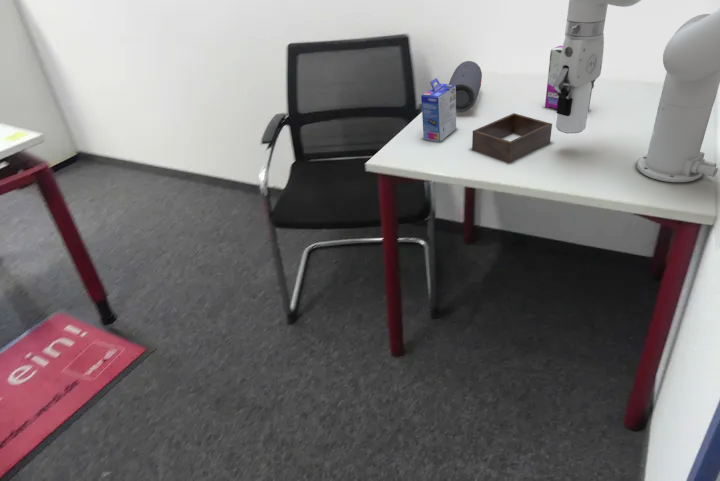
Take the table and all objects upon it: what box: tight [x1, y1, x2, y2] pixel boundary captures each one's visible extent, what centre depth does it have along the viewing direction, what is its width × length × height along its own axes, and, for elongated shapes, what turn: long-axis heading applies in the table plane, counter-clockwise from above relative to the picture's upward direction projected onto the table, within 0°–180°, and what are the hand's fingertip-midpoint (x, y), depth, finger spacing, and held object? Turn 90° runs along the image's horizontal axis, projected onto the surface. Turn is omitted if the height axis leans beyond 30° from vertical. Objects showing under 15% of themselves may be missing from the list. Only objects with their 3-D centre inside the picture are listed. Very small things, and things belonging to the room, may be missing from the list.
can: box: [555, 81, 592, 134], centre depth 122 cm, size 6×6×12 cm
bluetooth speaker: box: [448, 60, 483, 113], centre depth 159 cm, size 23×9×10 cm, turn 165°
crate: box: [471, 112, 553, 164], centre depth 132 cm, size 12×16×5 cm
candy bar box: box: [544, 45, 593, 111], centre depth 147 cm, size 11×5×16 cm, turn 42°
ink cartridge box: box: [420, 78, 457, 143], centre depth 140 cm, size 10×6×14 cm, turn 146°
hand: (573, 109), depth 123 cm, fingers closed on can, 6 cm apart
